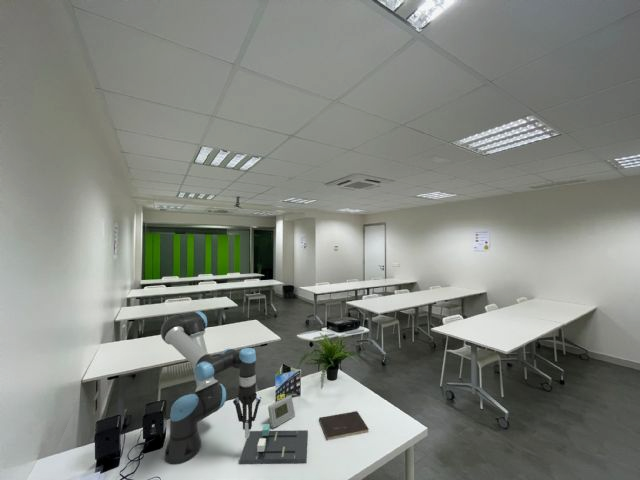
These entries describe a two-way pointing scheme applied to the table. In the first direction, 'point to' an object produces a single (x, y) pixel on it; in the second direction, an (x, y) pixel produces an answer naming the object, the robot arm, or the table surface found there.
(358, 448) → the table surface
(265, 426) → the fader far
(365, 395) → the table surface
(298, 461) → the plate
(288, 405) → the digital clock
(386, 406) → the table surface
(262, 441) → the fader near
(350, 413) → the hardcover book
